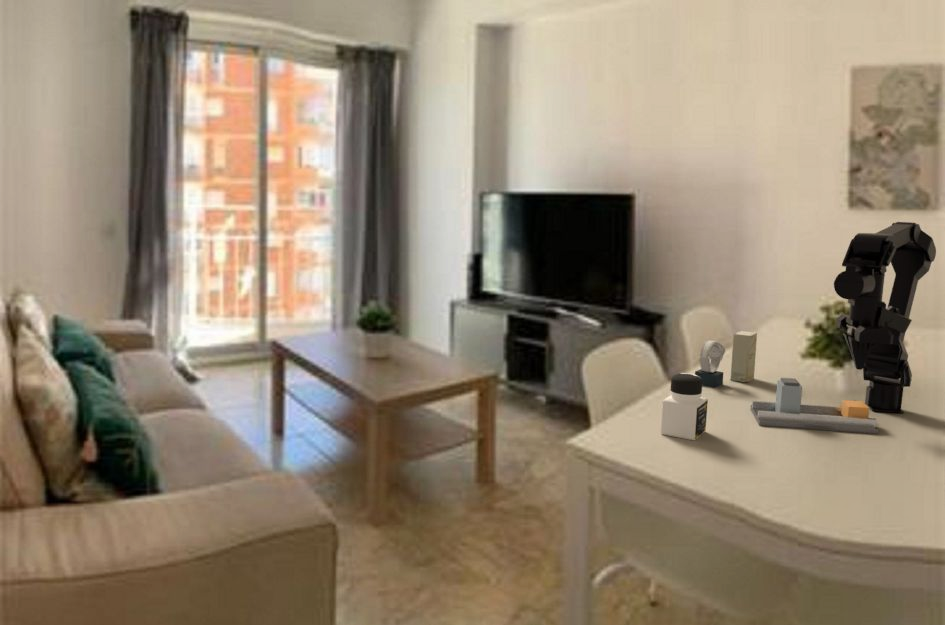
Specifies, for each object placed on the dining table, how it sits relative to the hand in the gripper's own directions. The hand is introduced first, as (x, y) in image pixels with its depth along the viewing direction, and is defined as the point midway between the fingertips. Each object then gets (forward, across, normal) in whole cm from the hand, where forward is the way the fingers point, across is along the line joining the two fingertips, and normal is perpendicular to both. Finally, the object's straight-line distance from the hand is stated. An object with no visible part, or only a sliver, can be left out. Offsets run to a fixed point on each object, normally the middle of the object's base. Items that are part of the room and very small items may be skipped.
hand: (859, 369), depth 166 cm
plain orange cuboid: (+11, 0, 0) cm, 11 cm away
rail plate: (+12, 0, +8) cm, 15 cm away
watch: (+12, +27, +27) cm, 40 cm away
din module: (+11, 0, +13) cm, 17 cm away
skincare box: (+12, +34, +18) cm, 40 cm away
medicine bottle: (+12, -15, +36) cm, 41 cm away
